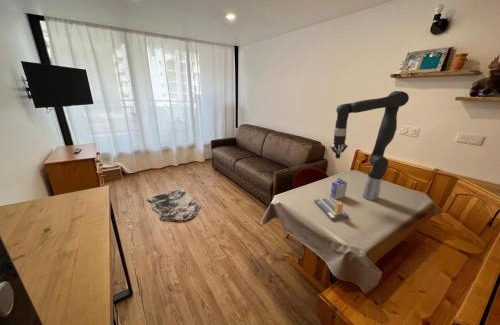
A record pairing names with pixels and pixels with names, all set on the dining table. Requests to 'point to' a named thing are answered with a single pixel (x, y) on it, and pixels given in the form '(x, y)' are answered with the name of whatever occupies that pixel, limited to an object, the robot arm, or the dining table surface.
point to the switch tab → (338, 208)
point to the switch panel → (329, 209)
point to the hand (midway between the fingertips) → (337, 158)
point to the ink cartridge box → (338, 189)
